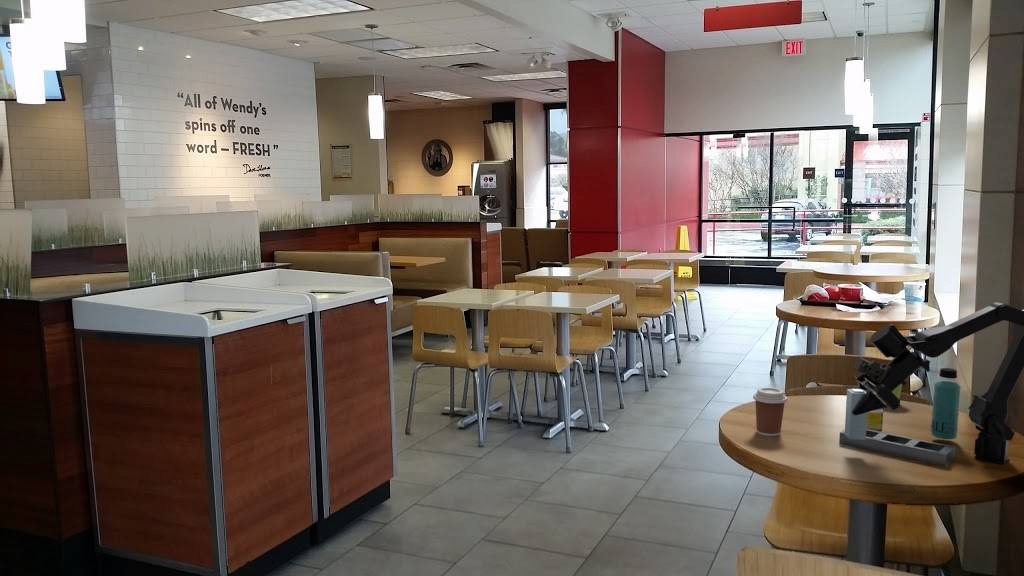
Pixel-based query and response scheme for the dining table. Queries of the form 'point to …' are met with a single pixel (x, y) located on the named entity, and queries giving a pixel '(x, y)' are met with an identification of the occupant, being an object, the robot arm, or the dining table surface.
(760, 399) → the coffee cup
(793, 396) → the dining table surface
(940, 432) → the beverage bottle
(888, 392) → the robot arm
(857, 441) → the grey slotted rack
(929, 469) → the dining table surface
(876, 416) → the supplement bottle
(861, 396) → the light blue tall block
